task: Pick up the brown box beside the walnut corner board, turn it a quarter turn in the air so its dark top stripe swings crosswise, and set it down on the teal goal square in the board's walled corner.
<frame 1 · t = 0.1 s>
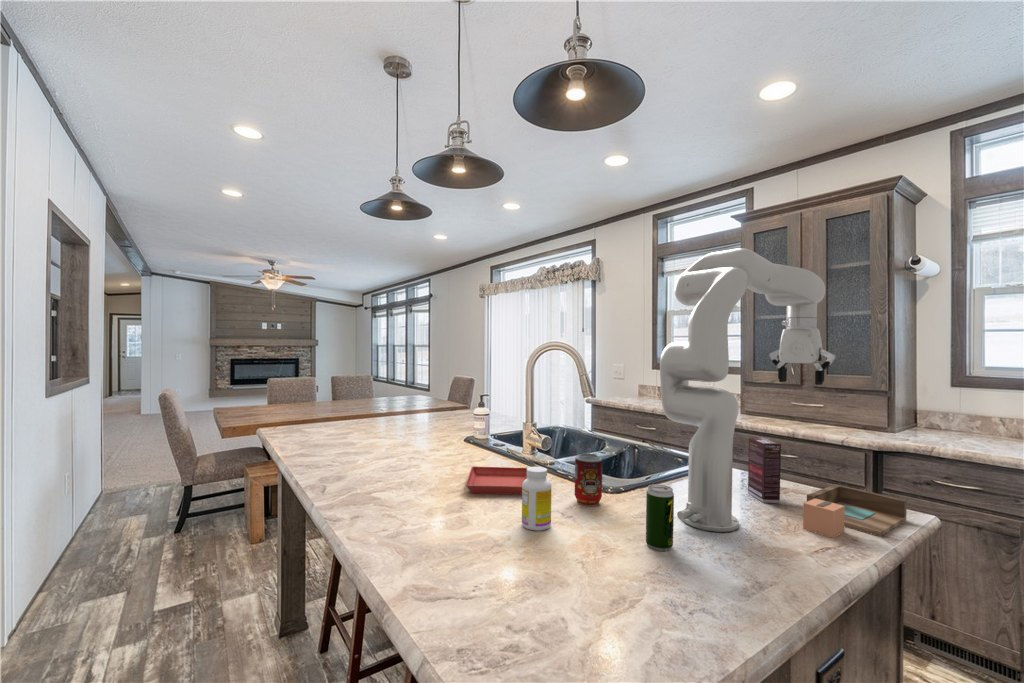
hand: (800, 383, 134), 31 cm above the countertop, tool pointing down, fingers open, 9 cm apart
plant saucer: (499, 487, 134), on the countertop
corner board: (855, 518, 113), on the countertop
brown box: (823, 530, 105), on the countertop
supplement bottle: (536, 526, 105), on the countertop
soda can: (588, 503, 121), on the countertop
beer can: (659, 547, 95), on the countertop
supplement box: (763, 498, 127), on the countertop
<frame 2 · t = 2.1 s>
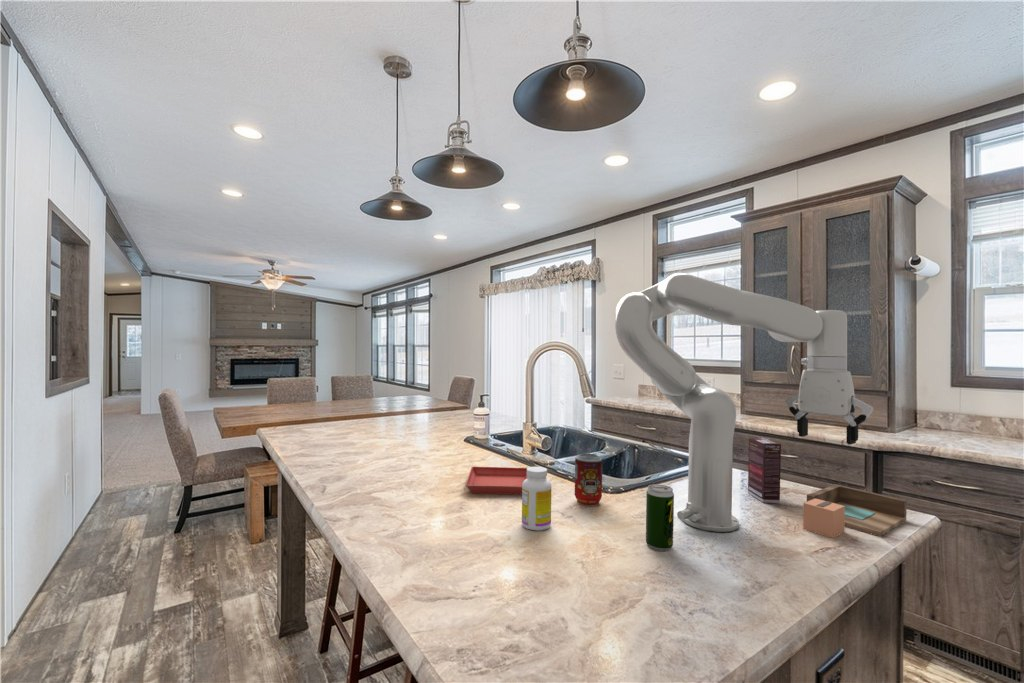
hand: (826, 439, 105), 21 cm above the countertop, tool pointing down, fingers open, 9 cm apart
nothing on the countertop moved.
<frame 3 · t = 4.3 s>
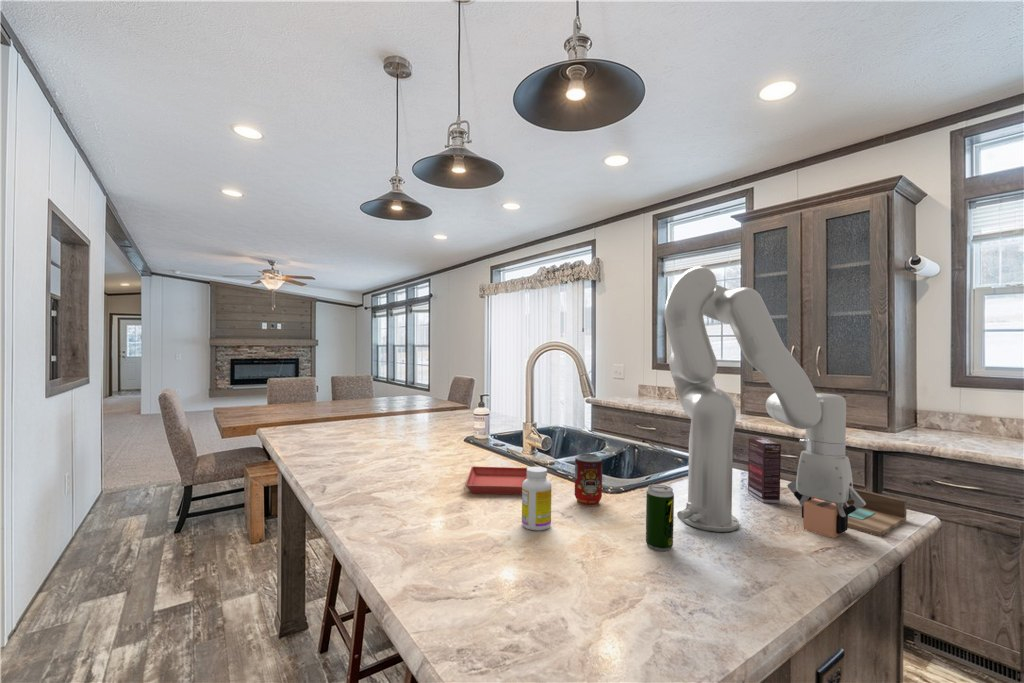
hand: (823, 526, 105), 1 cm above the countertop, tool pointing down, fingers closed on brown box, 6 cm apart
brown box: (823, 530, 105), on the countertop, touching gripper
everything else where it was.
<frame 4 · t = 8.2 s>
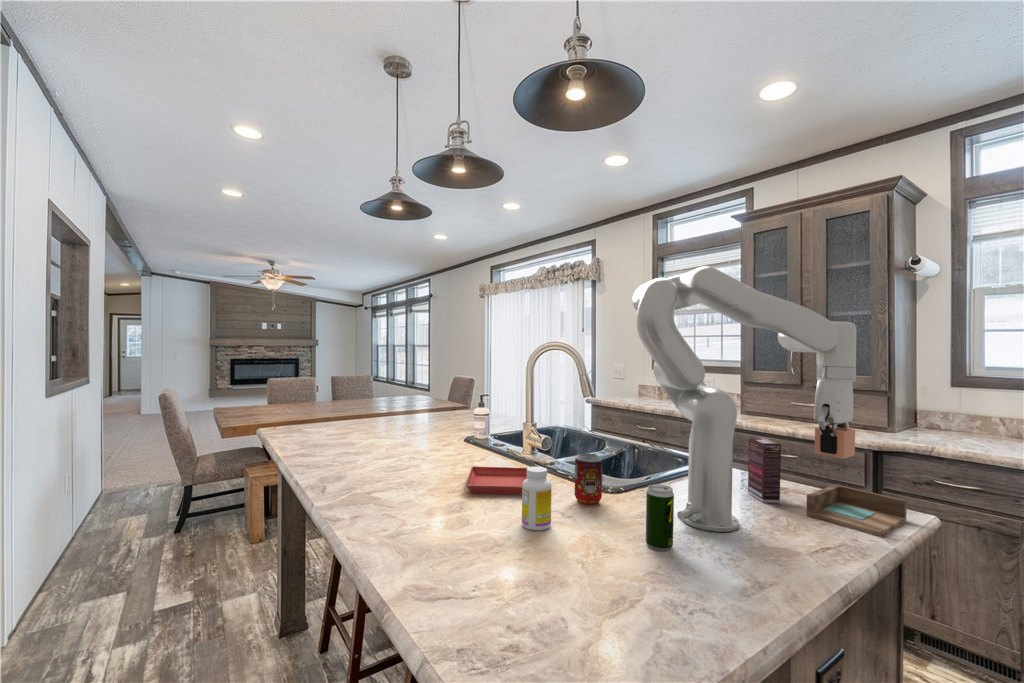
hand: (834, 450, 108), 18 cm above the countertop, tool pointing down, fingers closed on brown box, 6 cm apart
brown box: (834, 454, 108), point 17 cm above the countertop, touching gripper
everything else where it was.
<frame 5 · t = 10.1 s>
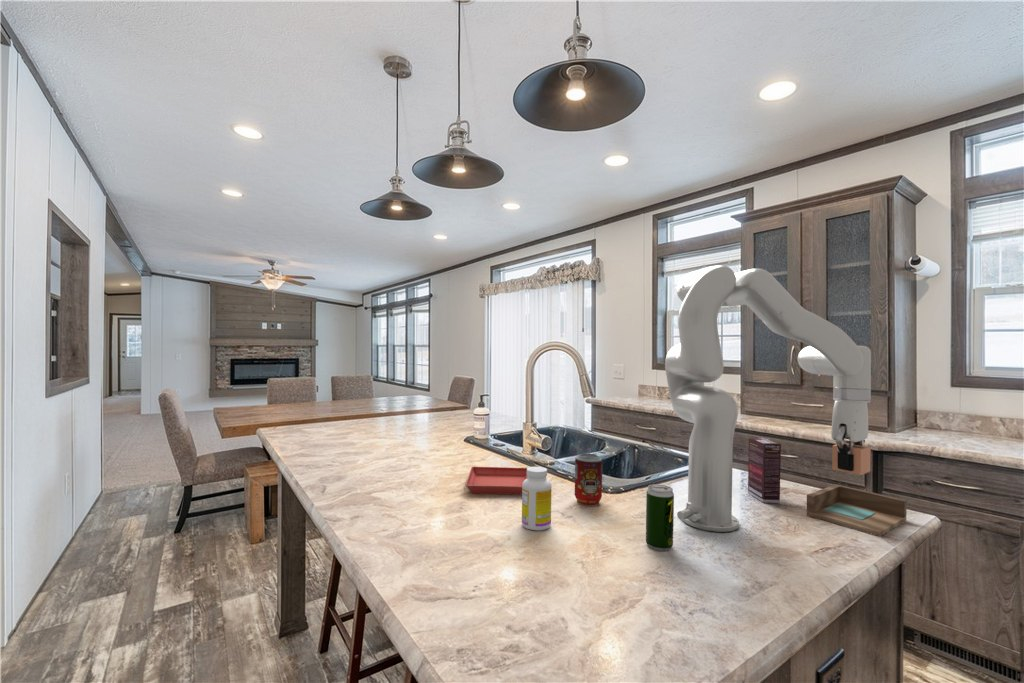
hand: (851, 467, 115), 12 cm above the countertop, tool pointing down, fingers closed on brown box, 6 cm apart
brown box: (851, 470, 115), point 11 cm above the countertop, touching gripper
everything else where it was.
when the fingers open (4 cm above the countertop, at t = 12.0 s): brown box drops 2 cm, resting on corner board.
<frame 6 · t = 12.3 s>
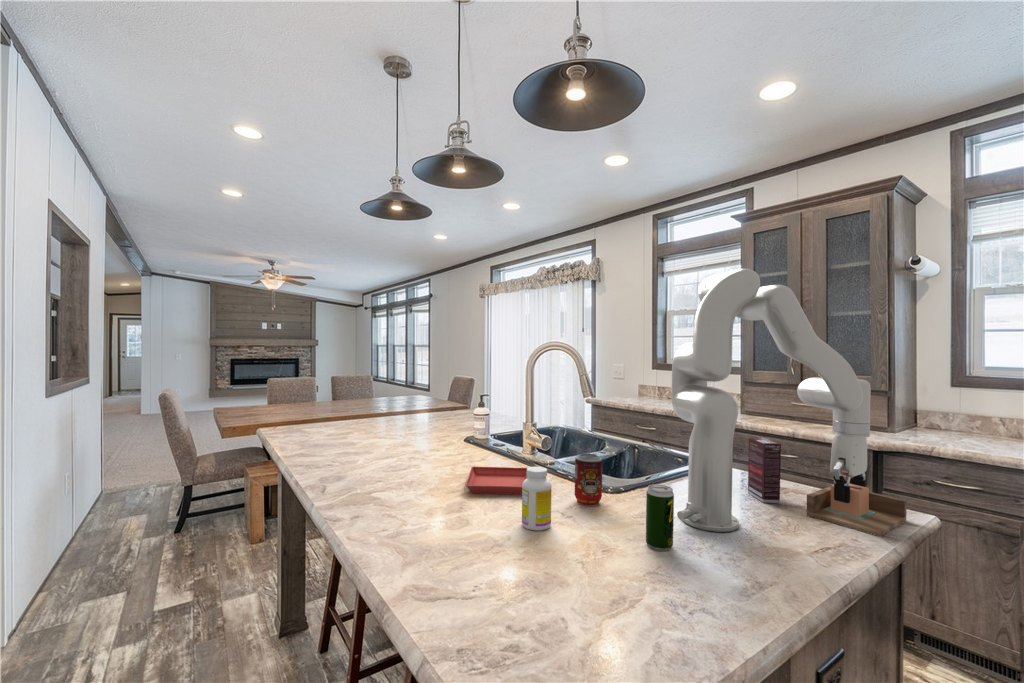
hand: (849, 497, 115), 4 cm above the countertop, tool pointing down, fingers open, 9 cm apart
brown box: (849, 510, 115), point 1 cm above the countertop, touching corner board
everything else where it was.
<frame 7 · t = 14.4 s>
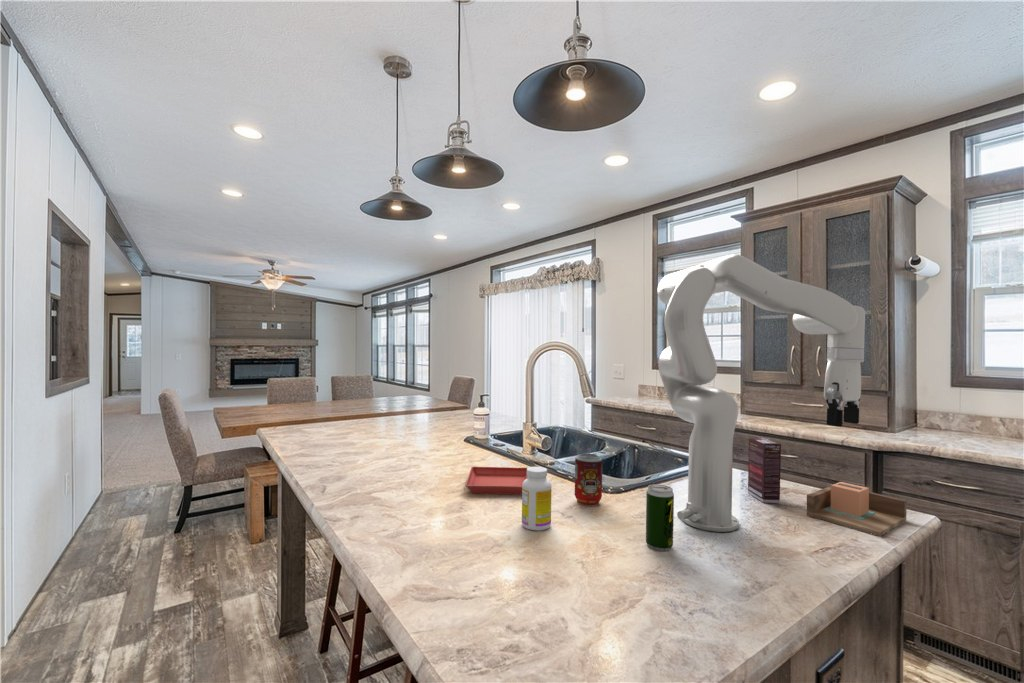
hand: (842, 424, 115), 23 cm above the countertop, tool pointing down, fingers open, 9 cm apart
nothing on the countertop moved.
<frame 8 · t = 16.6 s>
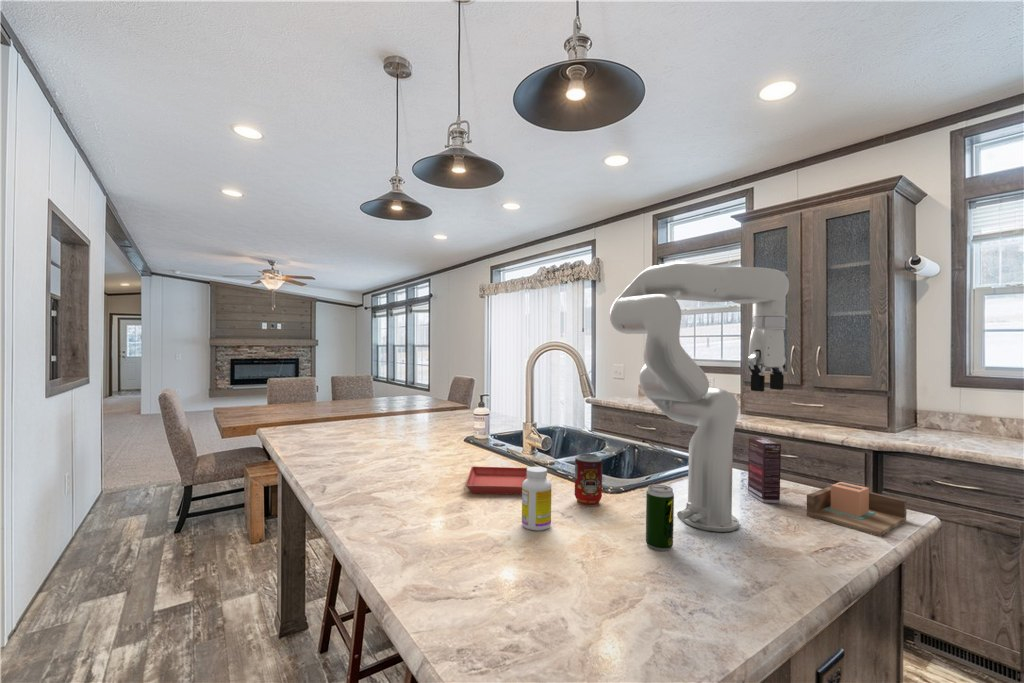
hand: (767, 390, 120), 30 cm above the countertop, tool pointing down, fingers open, 9 cm apart
nothing on the countertop moved.
at the end: brown box 0.0 cm from the target spot on the corner board, point 1.2 cm above the corner board's base; brown box tilted 0°; the gripper is holding nothing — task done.
